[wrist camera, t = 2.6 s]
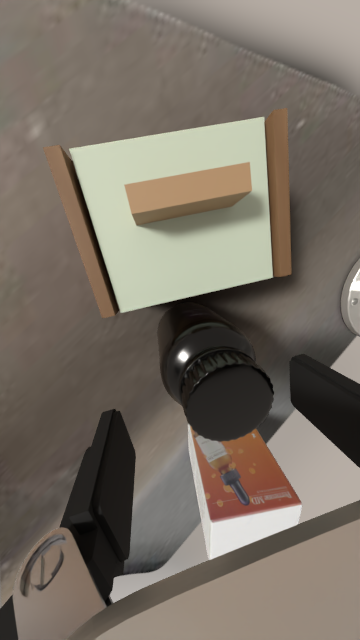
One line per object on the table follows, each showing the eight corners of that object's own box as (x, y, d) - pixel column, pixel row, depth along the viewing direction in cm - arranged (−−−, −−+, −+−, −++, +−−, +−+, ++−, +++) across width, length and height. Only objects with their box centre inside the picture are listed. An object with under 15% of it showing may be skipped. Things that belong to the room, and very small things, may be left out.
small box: (244, 408, 25) (306, 503, 15) (242, 440, 26) (296, 546, 16) (186, 416, 24) (210, 523, 14) (187, 449, 25) (209, 567, 15)
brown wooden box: (232, 174, 17) (287, 108, 10) (242, 272, 20) (291, 274, 13) (91, 200, 16) (42, 147, 9) (121, 299, 19) (102, 318, 12)
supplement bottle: (207, 362, 22) (265, 462, 11) (151, 352, 21) (148, 456, 9) (224, 307, 21) (313, 357, 9) (165, 293, 19) (182, 331, 8)
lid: (256, 127, 11) (295, 73, 8) (266, 277, 14) (298, 279, 11) (75, 157, 10) (42, 111, 7) (122, 310, 13) (113, 323, 10)
